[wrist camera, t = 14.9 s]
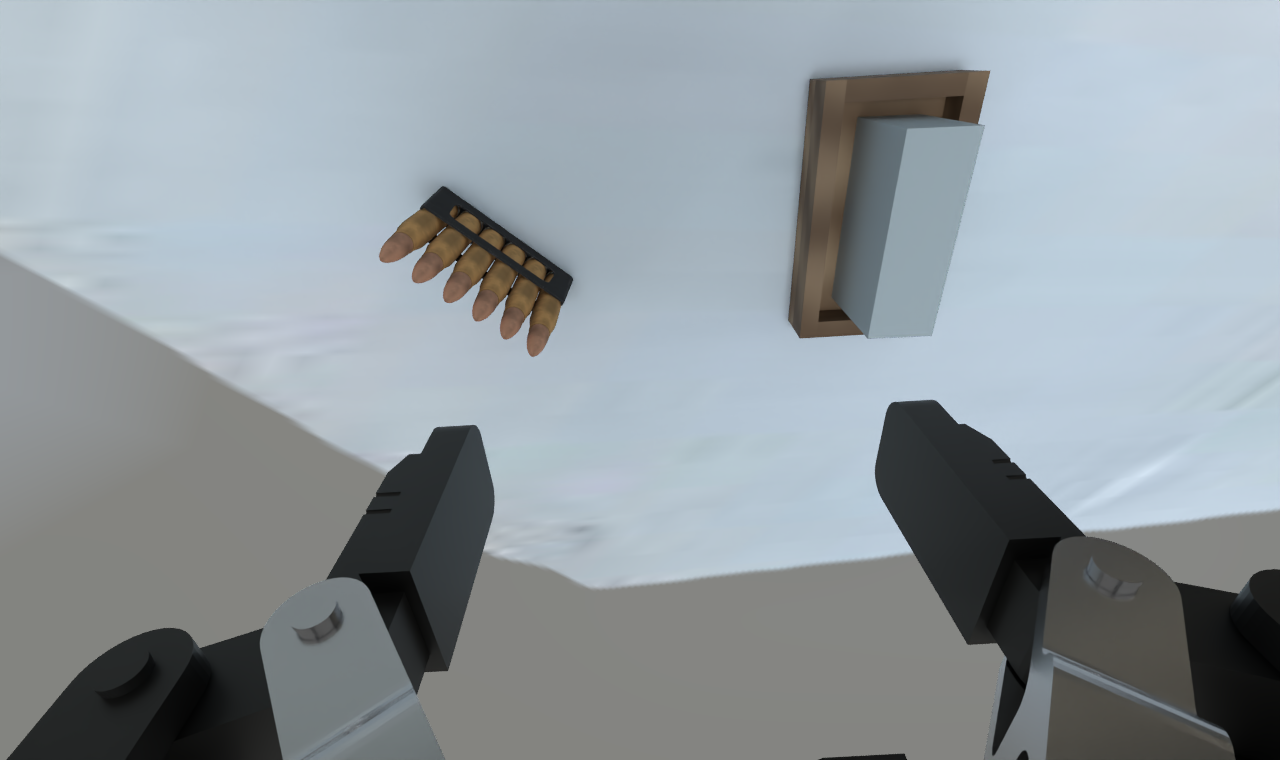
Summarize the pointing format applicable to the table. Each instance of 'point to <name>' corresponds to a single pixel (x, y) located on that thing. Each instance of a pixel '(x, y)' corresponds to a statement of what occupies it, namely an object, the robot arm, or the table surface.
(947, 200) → the long grey rectangular block
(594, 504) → the table surface
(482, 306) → the ammunition clip
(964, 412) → the table surface
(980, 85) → the cradle jig
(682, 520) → the table surface
